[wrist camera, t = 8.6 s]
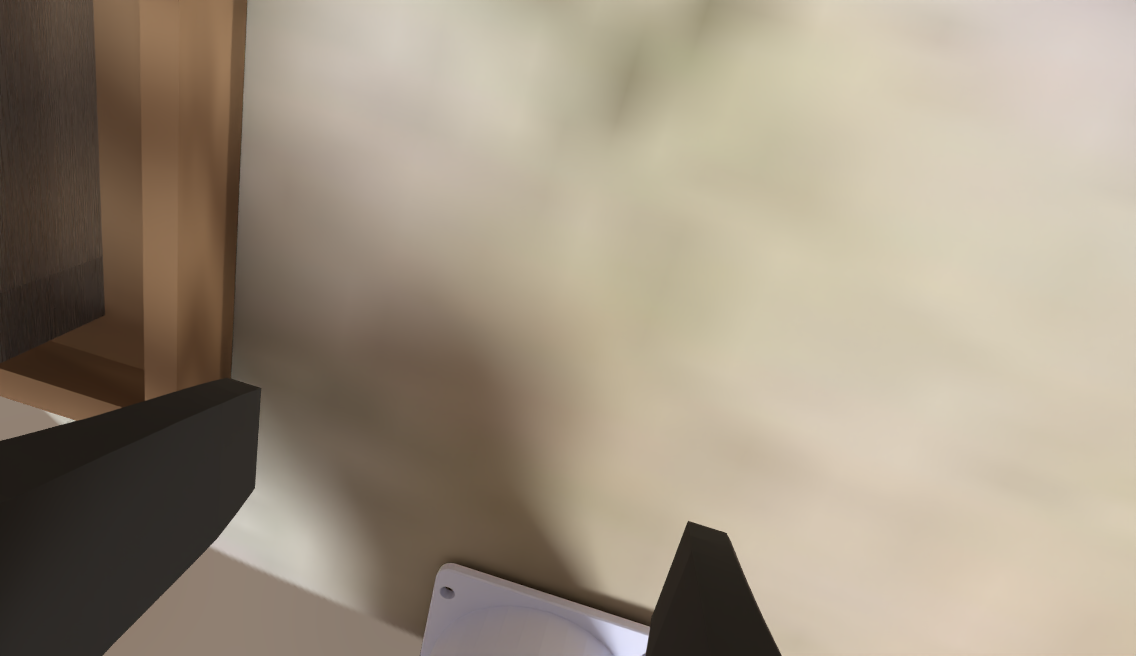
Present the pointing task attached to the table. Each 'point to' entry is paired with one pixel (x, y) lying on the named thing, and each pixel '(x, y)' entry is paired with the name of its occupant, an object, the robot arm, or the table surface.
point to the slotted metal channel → (48, 173)
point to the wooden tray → (155, 212)
